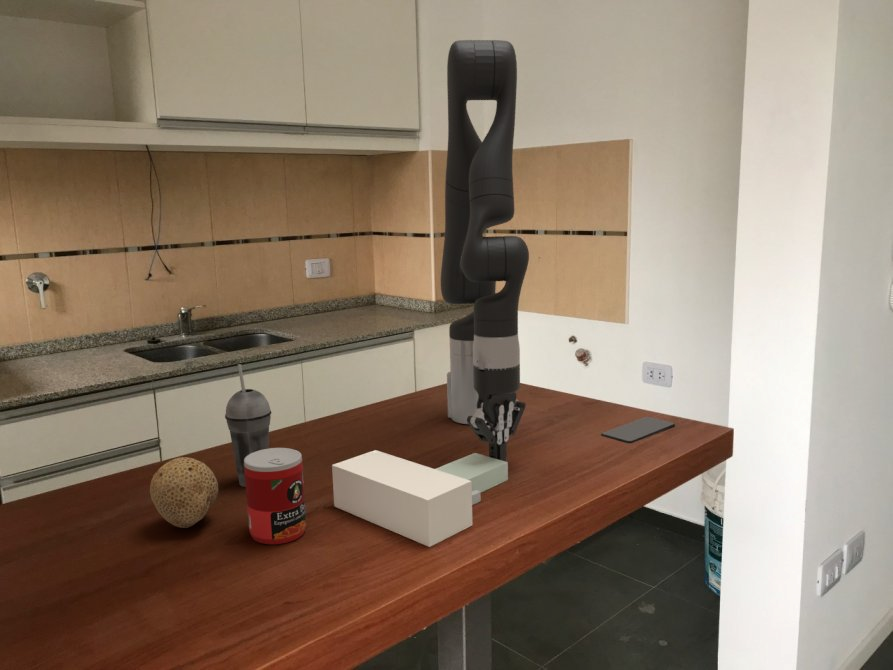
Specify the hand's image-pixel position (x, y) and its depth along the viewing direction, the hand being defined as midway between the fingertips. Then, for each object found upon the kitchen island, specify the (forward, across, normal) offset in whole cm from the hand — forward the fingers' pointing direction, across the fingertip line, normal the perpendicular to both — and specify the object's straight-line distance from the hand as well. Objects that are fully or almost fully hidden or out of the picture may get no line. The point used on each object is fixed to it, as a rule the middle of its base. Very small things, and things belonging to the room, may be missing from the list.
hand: (497, 463), depth 120 cm
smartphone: (+2, -34, +7) cm, 35 cm away
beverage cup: (+2, +28, -28) cm, 40 cm away
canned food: (+2, +37, -10) cm, 38 cm away
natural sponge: (+2, +44, -22) cm, 49 cm away
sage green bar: (+2, +10, 0) cm, 10 cm away
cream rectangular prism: (+1, +18, 0) cm, 18 cm away
